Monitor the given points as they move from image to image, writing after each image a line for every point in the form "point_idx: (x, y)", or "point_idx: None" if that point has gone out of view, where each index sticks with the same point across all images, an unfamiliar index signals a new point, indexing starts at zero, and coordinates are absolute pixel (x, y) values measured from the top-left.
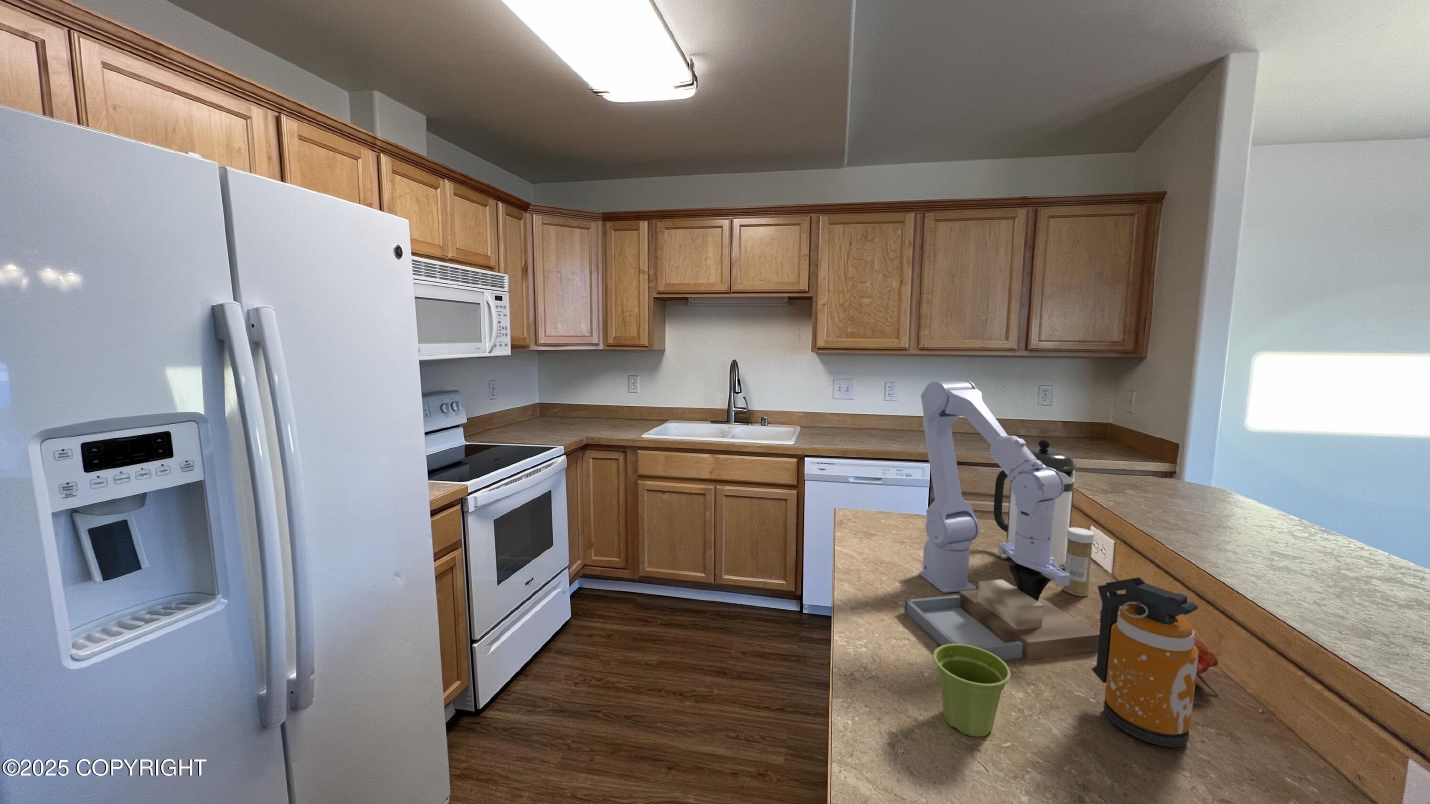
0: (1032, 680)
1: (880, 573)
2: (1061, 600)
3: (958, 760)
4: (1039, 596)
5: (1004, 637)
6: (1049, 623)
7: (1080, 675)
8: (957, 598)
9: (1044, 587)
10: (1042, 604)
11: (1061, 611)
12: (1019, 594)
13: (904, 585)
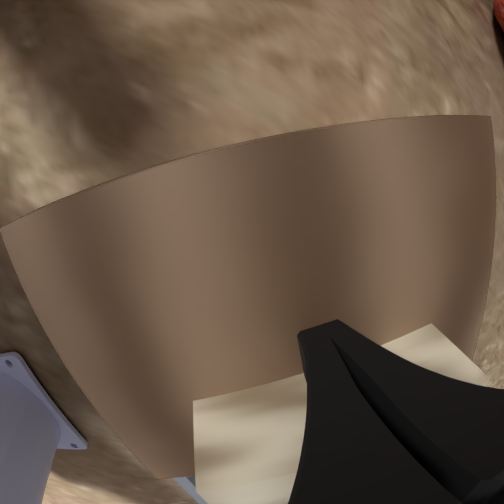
0: (478, 357)
1: (49, 488)
2: (39, 18)
3: None
4: (381, 347)
5: None
6: (422, 283)
7: (500, 258)
8: (188, 476)
9: (450, 379)
10: (485, 382)
11: (321, 141)
12: None
13: (84, 482)
